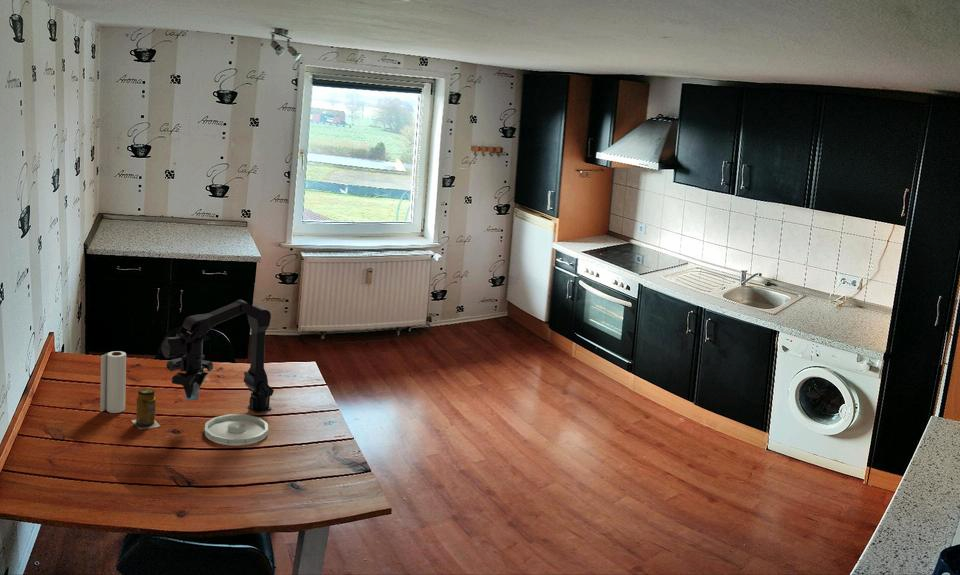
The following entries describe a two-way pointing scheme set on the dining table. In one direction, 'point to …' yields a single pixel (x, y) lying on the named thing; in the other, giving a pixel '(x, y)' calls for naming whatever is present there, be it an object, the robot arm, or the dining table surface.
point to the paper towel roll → (113, 382)
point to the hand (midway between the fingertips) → (192, 395)
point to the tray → (224, 433)
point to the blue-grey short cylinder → (194, 394)
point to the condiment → (145, 409)
